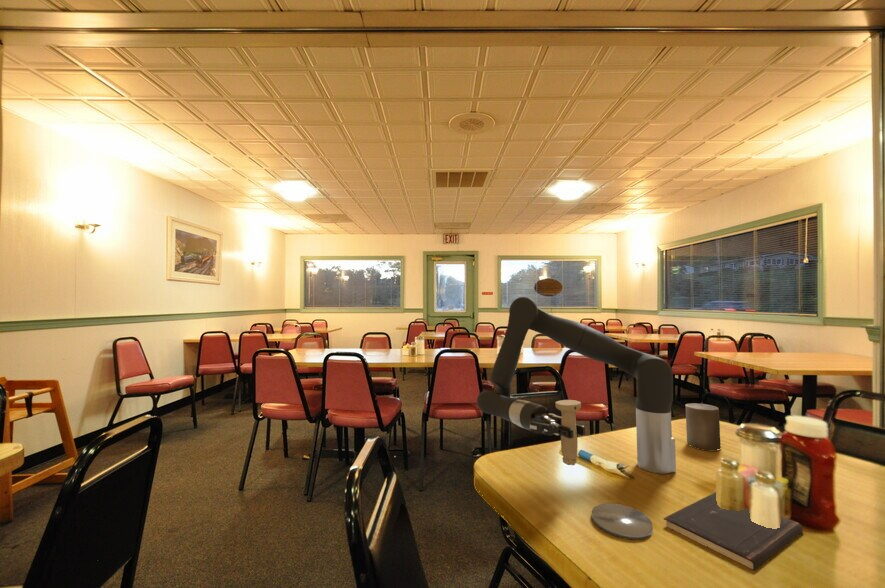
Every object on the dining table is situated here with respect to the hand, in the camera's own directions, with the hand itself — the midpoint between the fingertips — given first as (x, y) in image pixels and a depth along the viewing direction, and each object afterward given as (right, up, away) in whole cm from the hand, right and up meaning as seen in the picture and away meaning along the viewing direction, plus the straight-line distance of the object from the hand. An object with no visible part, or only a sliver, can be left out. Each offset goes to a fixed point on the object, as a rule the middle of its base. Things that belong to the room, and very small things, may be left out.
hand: (578, 432), depth 89 cm
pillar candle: (+57, -19, +38) cm, 71 cm away
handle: (-1, -9, +2) cm, 9 cm away
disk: (+6, -17, -8) cm, 20 cm away
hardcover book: (+29, -18, -11) cm, 36 cm away
